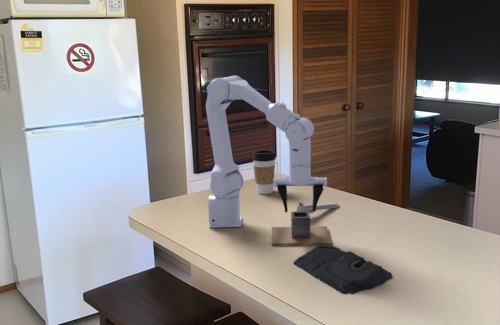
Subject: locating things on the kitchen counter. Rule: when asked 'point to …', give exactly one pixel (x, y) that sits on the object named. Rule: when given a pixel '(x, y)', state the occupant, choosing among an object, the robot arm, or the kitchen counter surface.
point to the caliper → (318, 207)
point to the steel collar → (300, 224)
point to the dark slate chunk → (342, 269)
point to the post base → (284, 238)
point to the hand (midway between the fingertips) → (300, 210)
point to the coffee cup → (264, 170)
